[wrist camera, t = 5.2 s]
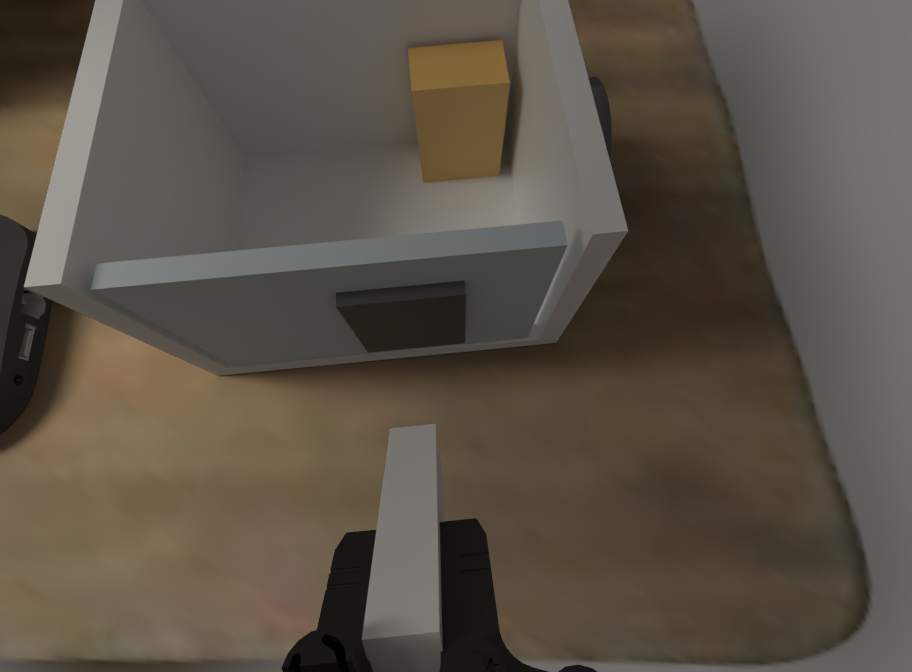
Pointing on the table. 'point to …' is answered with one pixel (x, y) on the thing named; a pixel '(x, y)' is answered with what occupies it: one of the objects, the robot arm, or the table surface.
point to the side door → (346, 293)
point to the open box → (324, 142)
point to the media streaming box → (18, 322)
